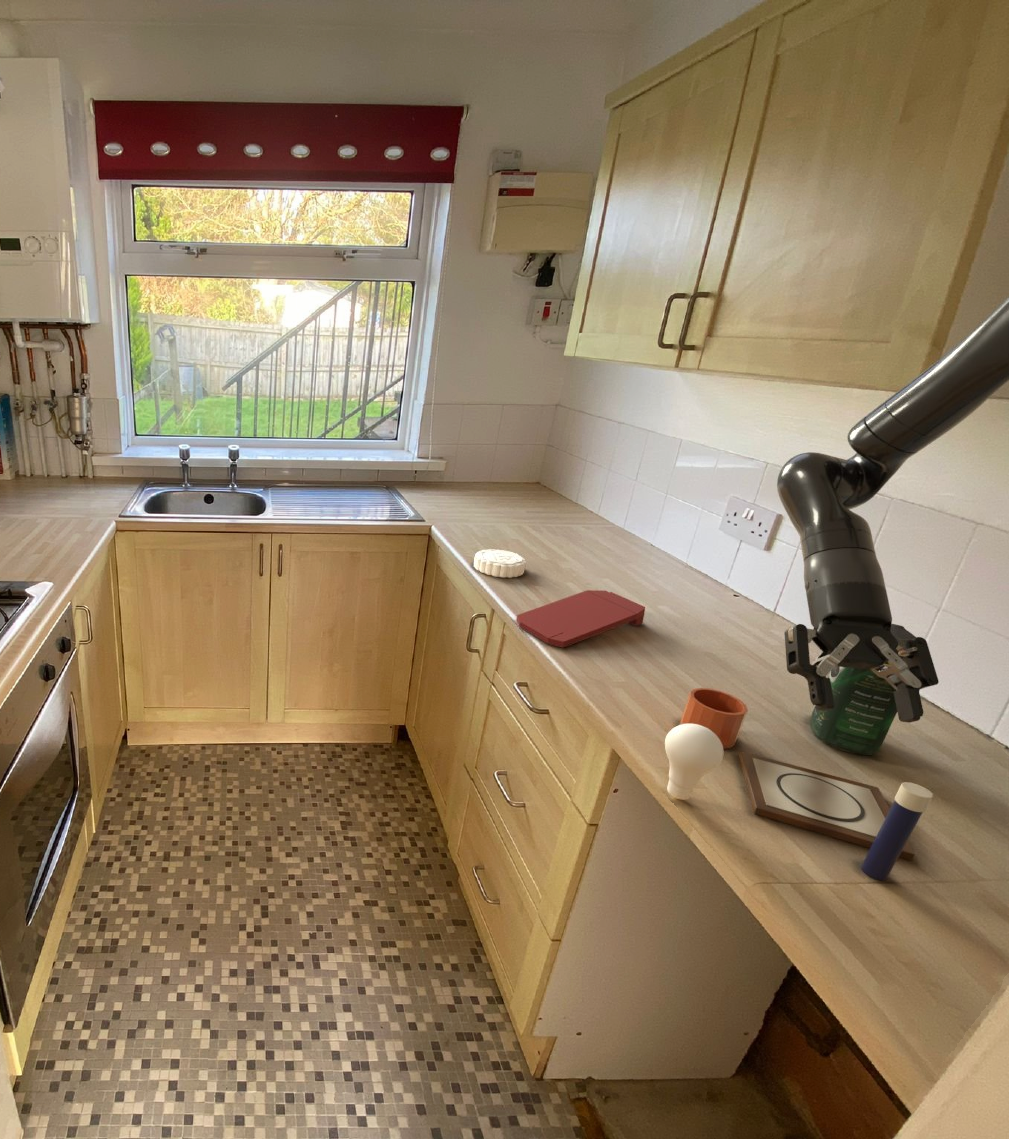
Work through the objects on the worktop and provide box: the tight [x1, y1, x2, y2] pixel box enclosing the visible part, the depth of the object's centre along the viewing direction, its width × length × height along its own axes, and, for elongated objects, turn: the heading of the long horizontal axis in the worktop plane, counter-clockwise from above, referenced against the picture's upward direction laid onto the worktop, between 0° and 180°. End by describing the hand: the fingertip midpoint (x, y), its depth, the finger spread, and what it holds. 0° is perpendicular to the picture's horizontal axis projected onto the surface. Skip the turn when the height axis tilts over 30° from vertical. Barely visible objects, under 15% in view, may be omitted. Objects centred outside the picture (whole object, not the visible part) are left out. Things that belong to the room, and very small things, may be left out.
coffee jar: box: [809, 623, 918, 756], centre depth 91 cm, size 10×8×19 cm
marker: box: [860, 781, 934, 881], centre depth 69 cm, size 2×2×12 cm
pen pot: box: [679, 687, 749, 750], centre depth 94 cm, size 7×7×6 cm
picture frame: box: [738, 751, 916, 861], centre depth 81 cm, size 15×13×1 cm
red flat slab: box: [516, 589, 646, 648], centre depth 128 cm, size 12×5×25 cm
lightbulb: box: [664, 724, 725, 801], centre depth 80 cm, size 6×6×11 cm
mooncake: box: [473, 548, 527, 579], centre depth 157 cm, size 12×12×4 cm
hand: (867, 715), depth 75 cm, fingers open, 8 cm apart
